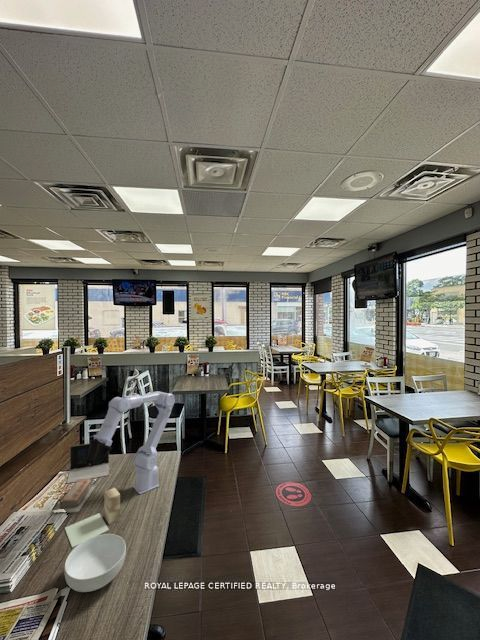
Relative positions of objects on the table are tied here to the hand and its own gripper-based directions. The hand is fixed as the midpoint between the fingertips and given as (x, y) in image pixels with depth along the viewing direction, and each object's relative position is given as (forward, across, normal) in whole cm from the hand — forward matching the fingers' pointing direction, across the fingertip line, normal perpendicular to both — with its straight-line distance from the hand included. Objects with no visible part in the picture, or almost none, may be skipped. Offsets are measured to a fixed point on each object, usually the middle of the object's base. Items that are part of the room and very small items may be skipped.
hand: (92, 462), depth 110 cm
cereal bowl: (+26, +23, +8) cm, 36 cm away
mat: (+21, 0, +9) cm, 23 cm away
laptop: (+10, -40, +17) cm, 44 cm away
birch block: (+17, +1, +17) cm, 24 cm away
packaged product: (+18, -22, +9) cm, 30 cm away
